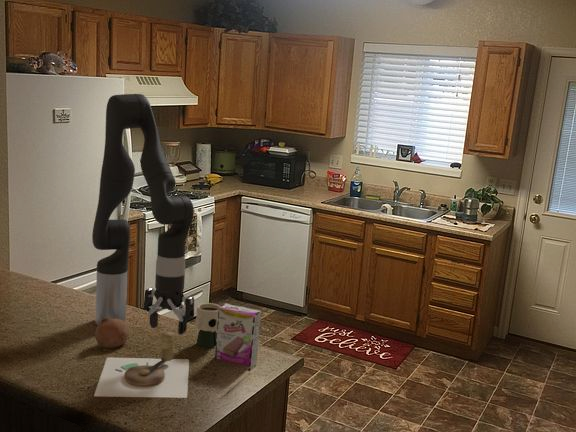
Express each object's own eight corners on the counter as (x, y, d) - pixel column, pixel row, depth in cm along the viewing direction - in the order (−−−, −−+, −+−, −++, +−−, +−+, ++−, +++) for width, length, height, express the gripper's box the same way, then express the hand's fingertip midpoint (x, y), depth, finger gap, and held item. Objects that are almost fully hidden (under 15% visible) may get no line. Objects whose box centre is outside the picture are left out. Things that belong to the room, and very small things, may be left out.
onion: (98, 357, 184) (84, 325, 183) (125, 341, 190) (112, 310, 189) (112, 357, 177) (97, 324, 176) (140, 340, 183) (126, 309, 182)
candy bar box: (213, 363, 180) (217, 307, 176) (221, 356, 184) (225, 302, 181) (250, 371, 176) (255, 315, 173) (257, 365, 181) (261, 309, 178)
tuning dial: (149, 390, 158) (151, 358, 156) (116, 380, 161) (117, 348, 159) (185, 365, 173) (187, 336, 171) (154, 357, 176) (155, 328, 175)
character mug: (203, 358, 182) (206, 314, 180) (185, 350, 186) (187, 308, 184) (227, 347, 191) (230, 305, 189) (209, 340, 195) (211, 299, 193)
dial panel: (106, 362, 174) (107, 356, 174) (188, 364, 177) (189, 358, 177) (93, 401, 153) (93, 395, 153) (186, 403, 156) (187, 396, 156)
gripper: (201, 273, 169) (198, 331, 172) (155, 264, 174) (153, 320, 177) (186, 279, 162) (183, 340, 165) (139, 270, 167) (136, 329, 170)
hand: (167, 330), depth 171 cm, fingers open, 8 cm apart
